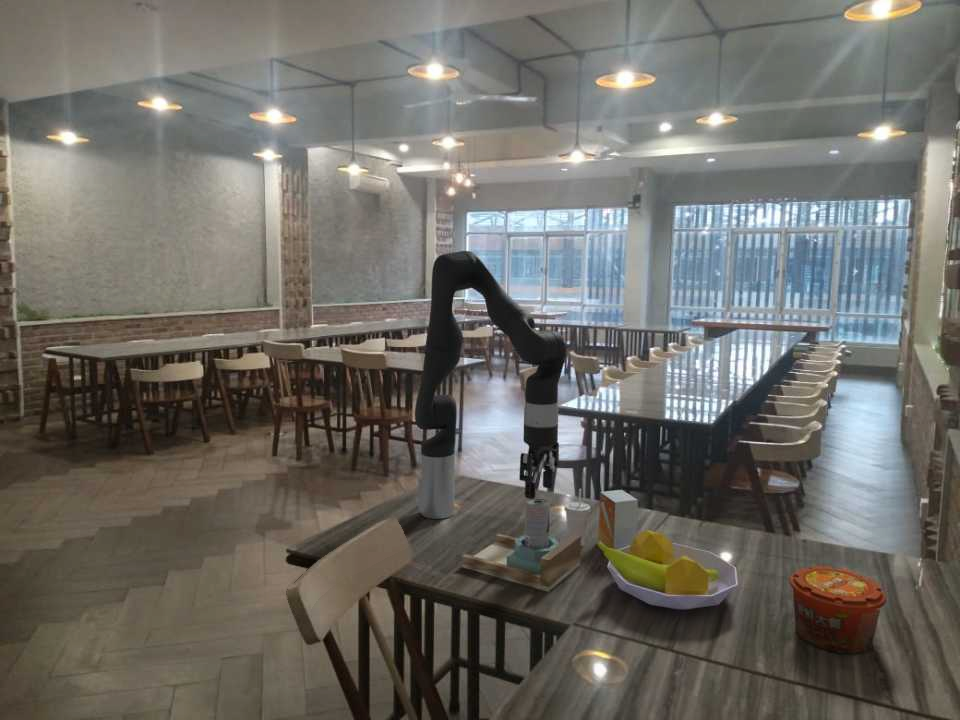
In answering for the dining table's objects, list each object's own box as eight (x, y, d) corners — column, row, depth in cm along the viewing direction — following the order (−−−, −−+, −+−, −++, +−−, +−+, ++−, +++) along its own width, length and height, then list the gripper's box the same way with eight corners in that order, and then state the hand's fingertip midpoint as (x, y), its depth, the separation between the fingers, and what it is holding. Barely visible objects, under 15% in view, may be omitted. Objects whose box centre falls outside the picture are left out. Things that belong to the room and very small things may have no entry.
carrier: (506, 567, 157) (506, 545, 156) (527, 552, 165) (528, 531, 164) (546, 578, 151) (546, 555, 151) (566, 562, 160) (567, 540, 159)
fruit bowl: (732, 575, 157) (735, 526, 155) (738, 635, 131) (741, 578, 130) (607, 558, 165) (608, 512, 164) (588, 612, 140) (590, 557, 138)
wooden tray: (462, 567, 160) (462, 537, 159) (498, 544, 173) (498, 516, 172) (548, 591, 148) (549, 560, 147) (580, 565, 161) (580, 535, 160)
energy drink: (548, 549, 160) (549, 498, 159) (548, 558, 155) (549, 506, 153) (525, 547, 161) (526, 497, 159) (524, 557, 156) (525, 505, 154)
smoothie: (591, 549, 170) (592, 493, 169) (564, 548, 171) (566, 493, 169) (587, 538, 177) (589, 485, 175) (562, 538, 177) (563, 484, 175)
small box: (597, 541, 175) (599, 491, 173) (620, 538, 177) (622, 489, 175) (613, 554, 167) (615, 502, 166) (636, 551, 169) (638, 499, 168)
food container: (799, 607, 142) (803, 557, 141) (889, 633, 132) (894, 580, 131) (774, 639, 130) (778, 584, 129) (871, 671, 120) (877, 612, 118)
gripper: (541, 430, 146) (539, 505, 148) (570, 418, 158) (568, 487, 160) (509, 425, 150) (508, 498, 152) (540, 413, 162) (539, 481, 164)
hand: (539, 492), depth 156 cm, fingers open, 8 cm apart
